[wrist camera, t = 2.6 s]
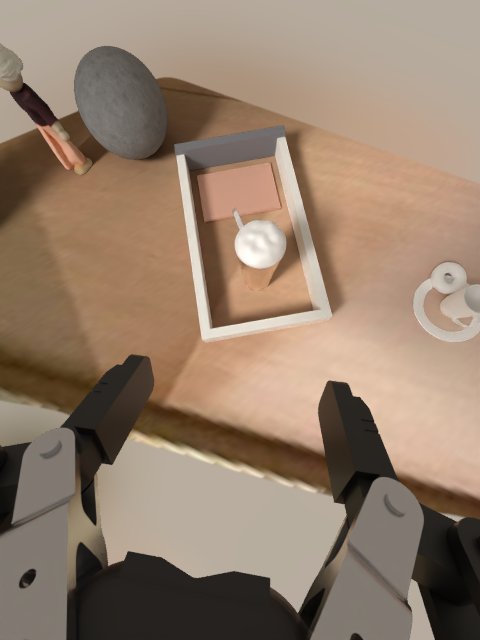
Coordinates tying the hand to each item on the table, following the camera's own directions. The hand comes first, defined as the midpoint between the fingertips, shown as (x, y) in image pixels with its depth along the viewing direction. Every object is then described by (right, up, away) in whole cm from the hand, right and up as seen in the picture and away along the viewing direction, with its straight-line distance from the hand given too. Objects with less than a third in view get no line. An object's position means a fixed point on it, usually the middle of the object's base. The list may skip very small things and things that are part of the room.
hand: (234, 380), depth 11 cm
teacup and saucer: (+27, +5, +17) cm, 33 cm away
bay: (+1, +13, +19) cm, 23 cm away
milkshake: (+2, +8, +18) cm, 20 cm away
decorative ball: (-14, +27, +23) cm, 38 cm away
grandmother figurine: (-22, +25, +23) cm, 40 cm away
